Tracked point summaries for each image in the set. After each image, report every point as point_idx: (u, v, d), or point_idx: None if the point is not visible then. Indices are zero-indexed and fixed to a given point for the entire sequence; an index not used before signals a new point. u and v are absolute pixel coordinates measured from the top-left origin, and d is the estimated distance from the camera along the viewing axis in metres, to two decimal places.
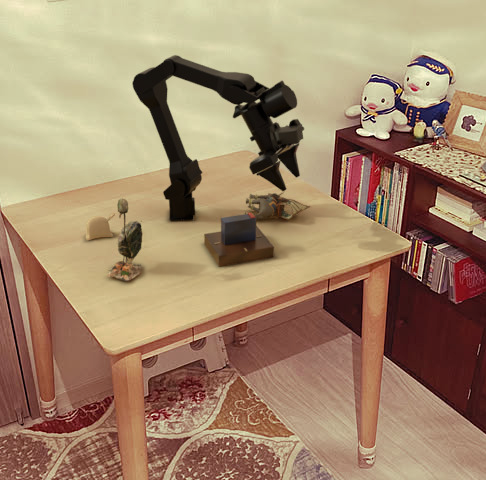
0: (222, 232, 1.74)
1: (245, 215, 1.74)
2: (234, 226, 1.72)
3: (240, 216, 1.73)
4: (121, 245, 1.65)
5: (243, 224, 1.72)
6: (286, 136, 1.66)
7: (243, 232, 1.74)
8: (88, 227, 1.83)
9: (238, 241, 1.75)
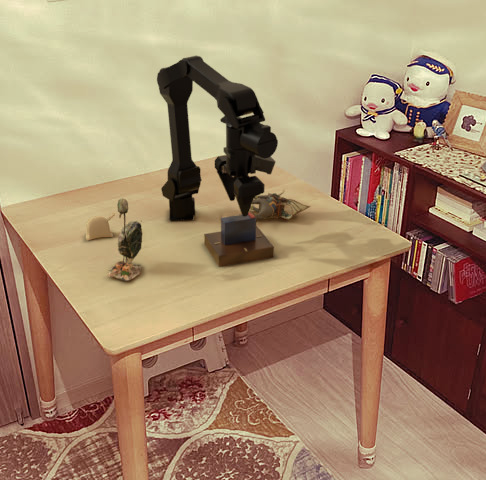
0: (222, 232, 1.74)
1: None
2: (234, 226, 1.72)
3: (240, 216, 1.73)
4: (121, 245, 1.65)
5: (243, 224, 1.72)
6: (266, 164, 1.65)
7: (243, 232, 1.74)
8: (88, 227, 1.83)
9: (238, 241, 1.75)
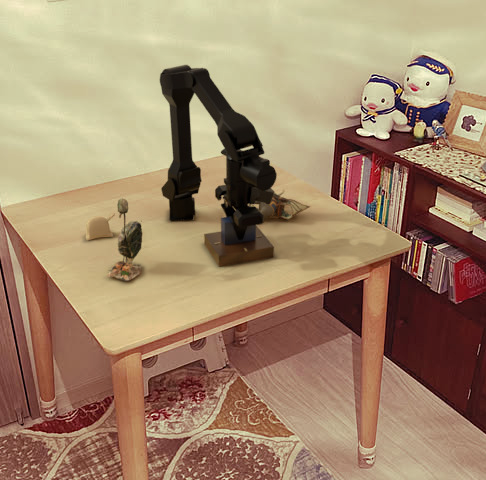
0: (222, 232, 1.74)
1: None
2: None
3: None
4: (121, 245, 1.65)
5: None
6: (265, 195, 1.69)
7: None
8: (88, 227, 1.83)
9: (238, 241, 1.75)
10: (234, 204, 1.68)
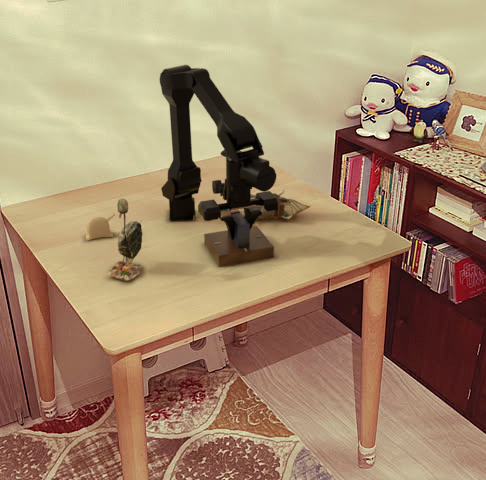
0: (244, 236, 1.71)
1: (232, 214, 1.74)
2: None
3: (236, 216, 1.73)
4: (121, 245, 1.65)
5: None
6: None
7: None
8: (88, 227, 1.83)
9: None
10: None
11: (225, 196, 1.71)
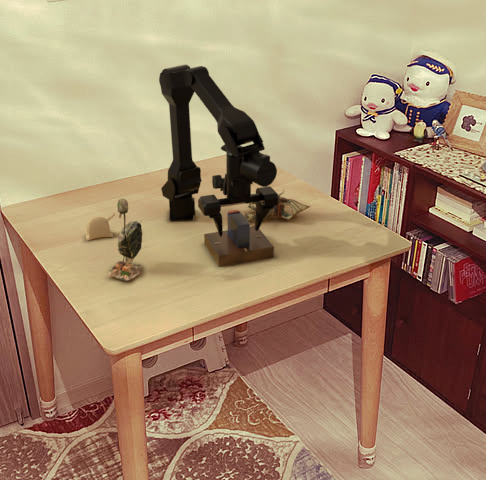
0: (244, 236, 1.71)
1: (232, 214, 1.74)
2: None
3: (236, 216, 1.73)
4: (121, 245, 1.65)
5: None
6: None
7: None
8: (88, 227, 1.83)
9: None
10: None
11: (225, 191, 1.70)
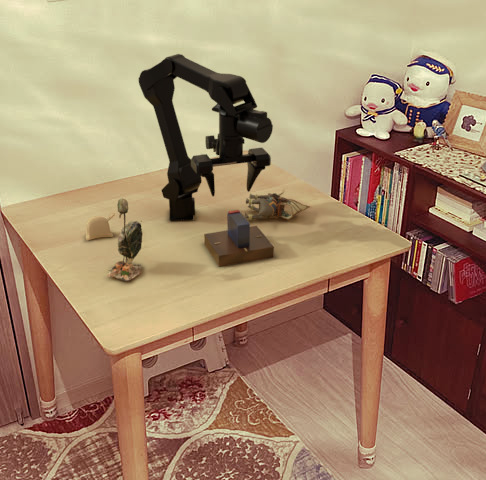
0: (244, 236, 1.71)
1: (232, 214, 1.74)
2: None
3: (236, 216, 1.73)
4: (121, 245, 1.65)
5: None
6: None
7: None
8: (88, 227, 1.83)
9: None
10: None
11: (218, 151, 1.73)
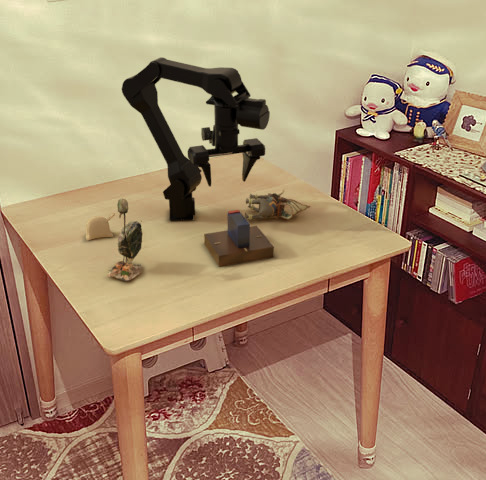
0: (244, 236, 1.71)
1: (232, 214, 1.74)
2: None
3: (236, 216, 1.73)
4: (121, 245, 1.65)
5: None
6: None
7: None
8: (88, 227, 1.83)
9: None
10: None
11: (213, 142, 1.78)
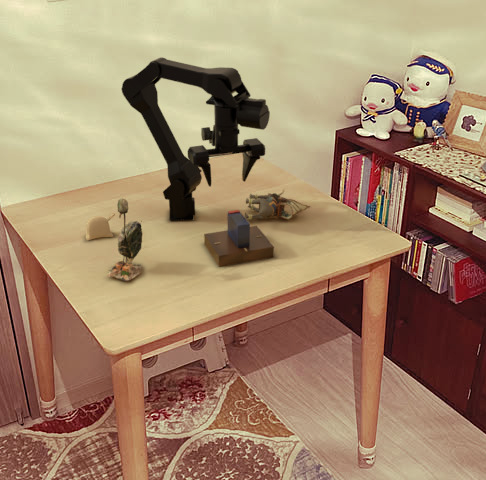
0: (244, 236, 1.71)
1: (232, 214, 1.74)
2: None
3: (236, 216, 1.73)
4: (121, 245, 1.65)
5: None
6: None
7: None
8: (88, 227, 1.83)
9: None
10: None
11: (213, 142, 1.78)
